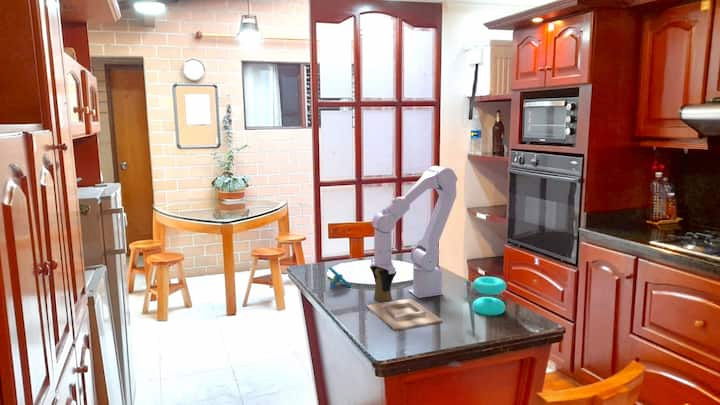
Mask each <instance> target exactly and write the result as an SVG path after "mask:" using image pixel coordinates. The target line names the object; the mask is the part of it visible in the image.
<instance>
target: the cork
mask: <svg viewBox="0 0 720 405" xmlns="http://www.w3.org/2000/svg"><path fill="white" fill-rule="evenodd" d="M379 271H384V268H381V267H377V268H376V270H375V275H376V276H377V279H376V283H375V286H374V287H375V289H374V296H373V300H374V301H377V302H379V303H384V302H390V301H392V299H393V298H392V291H391V288H390V291H388V292H383V289H382V281H381V277H380V275H379V273H378V272H379Z"/></svg>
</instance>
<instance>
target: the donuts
mask: <svg viewBox="0 0 720 405" xmlns="http://www.w3.org/2000/svg"><path fill="white" fill-rule="evenodd" d="M473 288H474V289H475V290H476V291H477V292H478V293H481V294H484V295H499V294H502V293H504V292H505V291H506V289H507V283H506V282H505V281H504V280H503V279H502V278H499V277H495V276H480V277H477V278H475V279H474V281H473ZM472 309H473V310H474V311H475V312H476V313H477V314H481V315H482V316H492V317H493V316H500V315H501V314H503V313H505V311H506V304H505V302H503V301H502V300H501V299H499V298H496V297H493V296H482V297H478V298H476V299H475V300H474V301H473V302H472Z"/></svg>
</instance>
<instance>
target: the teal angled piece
mask: <svg viewBox="0 0 720 405" xmlns="http://www.w3.org/2000/svg"><path fill="white" fill-rule="evenodd" d="M329 271H331V273H333V274H334V276H333V279H331V281H329V283H330V284H329V287H330V289H333V288H334V287H335V285H336V284H337V283H339V282H340V281H341V282H342V283H344V285H345V286H347V287H348V288H350V287H351V284H350V283H349V281H347V280H346V279H345V278H344V277H343V274H341V273H338V272H337V271H336V270H335V269H333V267H329Z"/></svg>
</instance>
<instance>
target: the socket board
mask: <svg viewBox="0 0 720 405" xmlns="http://www.w3.org/2000/svg"><path fill="white" fill-rule="evenodd" d="M366 308H367V309H369V310H370V311H371V312H372V313H373V314H374V315H376V317H378V319H380V320H381V321H382V322H383V323H385V324H386V325H387V326H388V327H389V328H391V329H392V330H393V331H399V330H406V329H411V328H417V327H422V326H428V325H434V324H439V323H443V322H444V321H443V319H442V318H441V317H439V316H438V315H436V314H434V312H432V311H430V310H429V309H427V308H425V306H423V305H421V304H420V303H419V302H417V301H416V300H414V299H413V298H411V297H410V298H403V299H398V300H390V301H386V302H378V303H371V304H366Z"/></svg>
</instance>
